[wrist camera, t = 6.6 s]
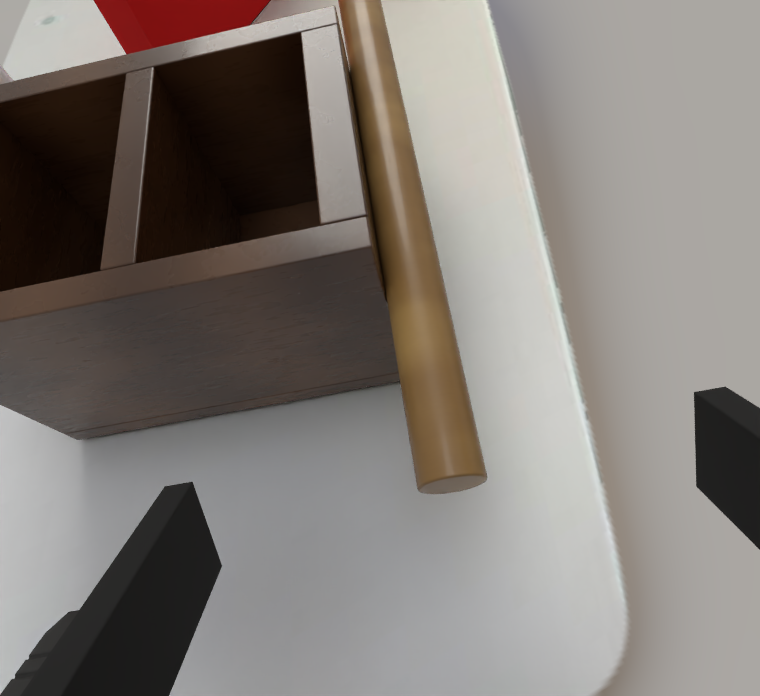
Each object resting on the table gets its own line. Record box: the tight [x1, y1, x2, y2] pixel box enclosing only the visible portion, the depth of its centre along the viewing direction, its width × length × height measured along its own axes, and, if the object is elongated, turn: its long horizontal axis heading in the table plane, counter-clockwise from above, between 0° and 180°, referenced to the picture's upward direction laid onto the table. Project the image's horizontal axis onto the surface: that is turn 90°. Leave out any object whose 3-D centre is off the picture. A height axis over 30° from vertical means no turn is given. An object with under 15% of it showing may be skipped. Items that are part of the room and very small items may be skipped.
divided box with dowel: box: [0, 0, 487, 494], centre depth 23 cm, size 18×25×10 cm
